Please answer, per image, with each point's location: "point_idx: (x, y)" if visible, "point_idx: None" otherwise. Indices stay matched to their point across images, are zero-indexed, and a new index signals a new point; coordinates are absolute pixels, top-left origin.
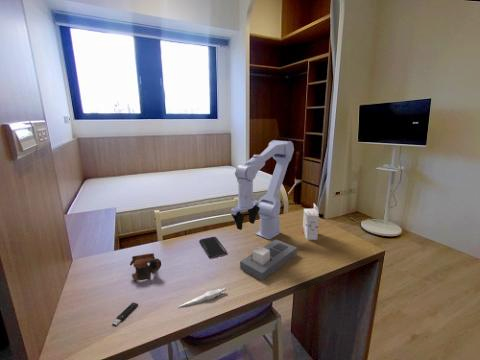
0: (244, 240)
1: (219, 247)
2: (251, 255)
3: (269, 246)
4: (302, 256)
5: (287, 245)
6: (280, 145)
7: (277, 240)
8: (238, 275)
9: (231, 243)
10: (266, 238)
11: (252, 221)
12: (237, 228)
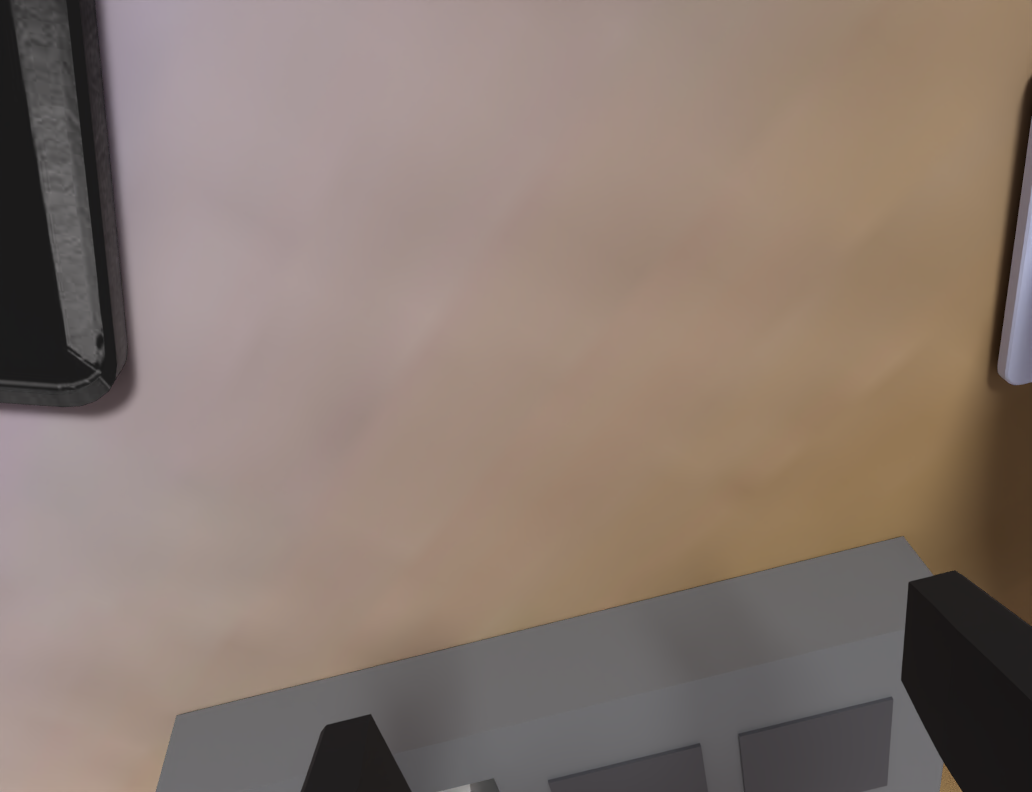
0: (669, 145)
1: (2, 170)
2: None
3: (722, 708)
4: None
5: (909, 760)
6: None
7: None
8: (110, 780)
9: (360, 99)
10: (1002, 333)
11: (944, 728)
12: (323, 748)
